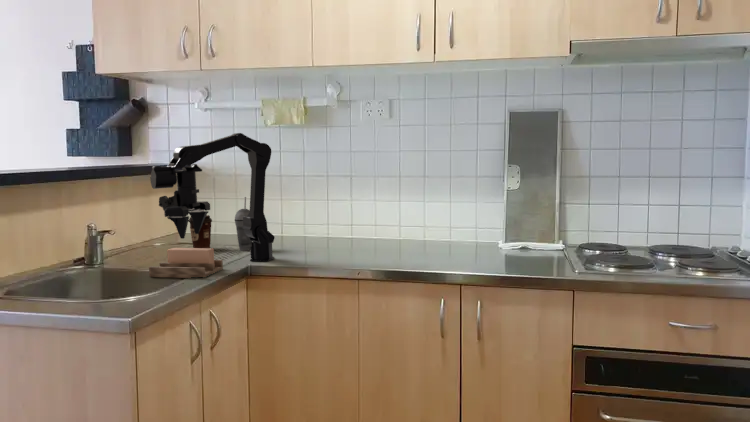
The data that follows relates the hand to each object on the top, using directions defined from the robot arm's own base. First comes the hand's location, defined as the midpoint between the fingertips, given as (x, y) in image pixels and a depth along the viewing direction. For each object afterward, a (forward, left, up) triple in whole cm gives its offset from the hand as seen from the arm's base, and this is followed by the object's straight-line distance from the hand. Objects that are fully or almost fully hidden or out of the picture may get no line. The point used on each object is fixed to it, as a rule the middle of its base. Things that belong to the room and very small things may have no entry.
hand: (189, 236), depth 191 cm
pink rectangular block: (0, +1, -10) cm, 10 cm away
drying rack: (0, +4, -11) cm, 12 cm away
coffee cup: (+16, -36, -11) cm, 41 cm away
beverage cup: (-2, -36, -11) cm, 38 cm away
